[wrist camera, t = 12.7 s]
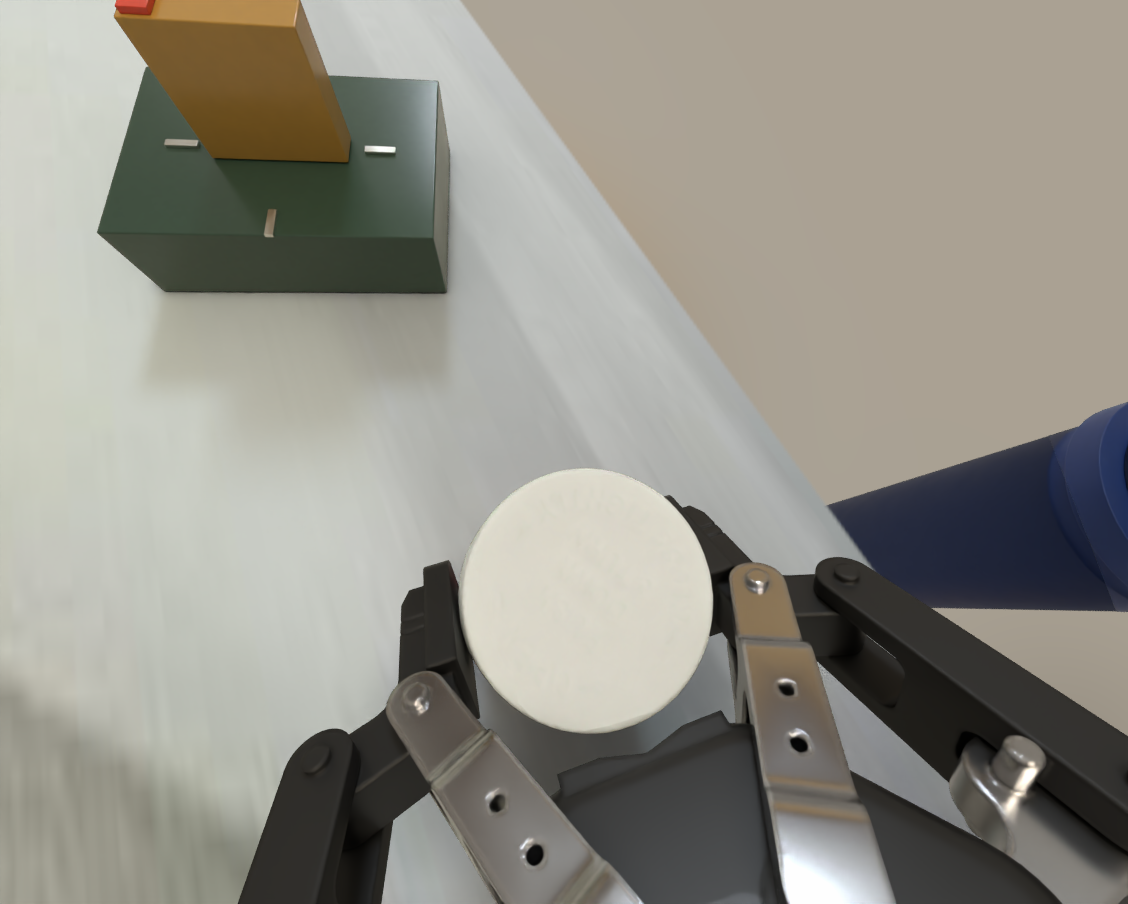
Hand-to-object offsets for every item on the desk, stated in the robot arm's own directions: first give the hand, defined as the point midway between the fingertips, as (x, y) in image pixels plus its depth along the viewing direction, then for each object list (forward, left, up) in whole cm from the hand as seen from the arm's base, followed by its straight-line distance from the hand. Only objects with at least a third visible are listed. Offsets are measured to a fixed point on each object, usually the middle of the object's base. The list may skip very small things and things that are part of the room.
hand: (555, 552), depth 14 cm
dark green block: (+12, -20, -7) cm, 24 cm away
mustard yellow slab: (+12, -20, -3) cm, 23 cm away
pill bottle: (0, +1, -7) cm, 7 cm away
